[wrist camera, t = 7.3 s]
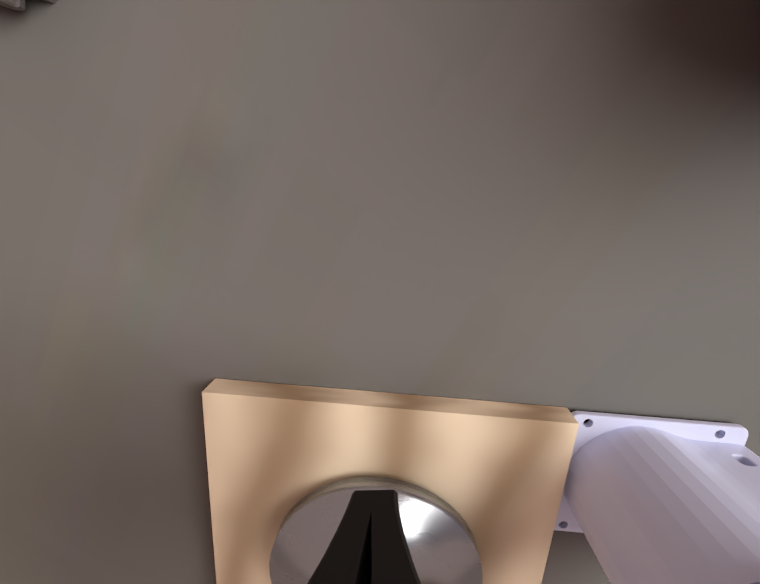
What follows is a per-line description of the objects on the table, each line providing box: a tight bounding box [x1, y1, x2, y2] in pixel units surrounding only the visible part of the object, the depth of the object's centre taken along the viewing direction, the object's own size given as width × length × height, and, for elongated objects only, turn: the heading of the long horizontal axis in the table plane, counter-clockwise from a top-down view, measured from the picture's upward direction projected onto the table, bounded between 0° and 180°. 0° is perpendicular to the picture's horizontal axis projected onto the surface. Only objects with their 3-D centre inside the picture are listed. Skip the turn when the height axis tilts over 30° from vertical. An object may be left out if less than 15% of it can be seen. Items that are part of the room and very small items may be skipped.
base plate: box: [202, 378, 579, 584], centre depth 21 cm, size 20×20×5 cm
